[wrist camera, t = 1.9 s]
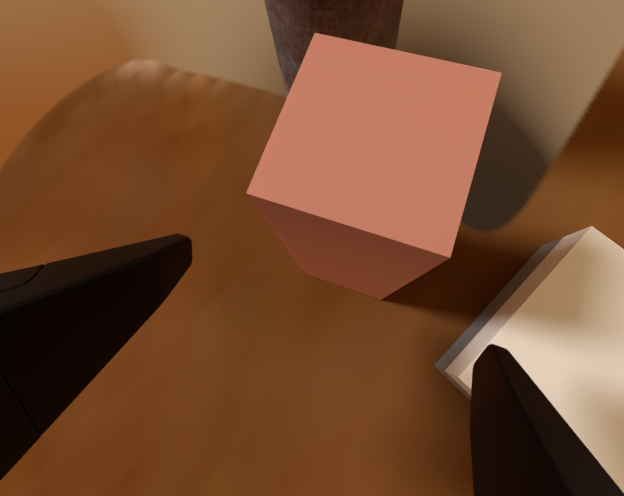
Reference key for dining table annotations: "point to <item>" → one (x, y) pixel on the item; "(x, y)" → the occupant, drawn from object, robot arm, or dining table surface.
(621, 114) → the dining table surface
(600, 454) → the base block
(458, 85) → the top brick
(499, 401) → the robot arm
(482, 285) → the dining table surface
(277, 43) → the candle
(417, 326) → the dining table surface
